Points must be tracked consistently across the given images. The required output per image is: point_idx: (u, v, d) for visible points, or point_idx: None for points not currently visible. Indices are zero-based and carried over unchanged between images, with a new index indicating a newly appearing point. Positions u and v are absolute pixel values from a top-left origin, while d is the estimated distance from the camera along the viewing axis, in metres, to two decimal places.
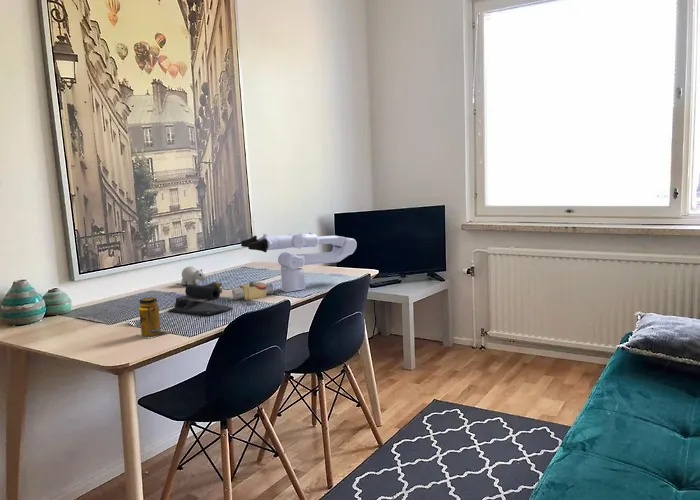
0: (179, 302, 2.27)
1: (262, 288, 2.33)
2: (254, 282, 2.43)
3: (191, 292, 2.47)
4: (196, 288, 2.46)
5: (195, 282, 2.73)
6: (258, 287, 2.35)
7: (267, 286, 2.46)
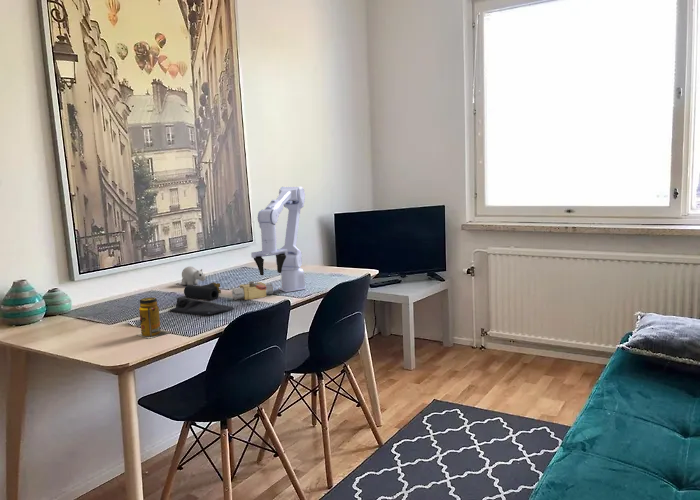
0: (180, 302, 2.27)
1: (262, 288, 2.33)
2: (254, 282, 2.43)
3: (190, 292, 2.46)
4: (195, 288, 2.45)
5: (195, 282, 2.73)
6: (258, 287, 2.35)
7: (267, 286, 2.46)
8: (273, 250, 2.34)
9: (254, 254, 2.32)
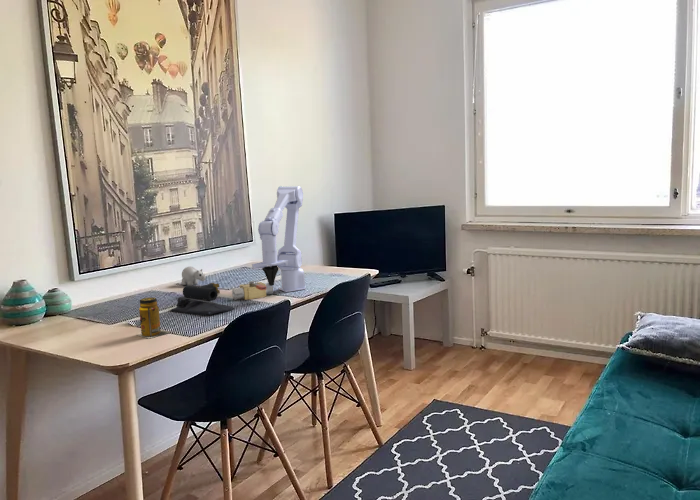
0: (181, 302, 2.28)
1: (262, 288, 2.33)
2: (254, 282, 2.43)
3: (188, 293, 2.45)
4: (193, 289, 2.44)
5: (195, 282, 2.73)
6: (258, 287, 2.35)
7: (267, 286, 2.46)
8: (274, 261, 2.35)
9: (255, 265, 2.33)
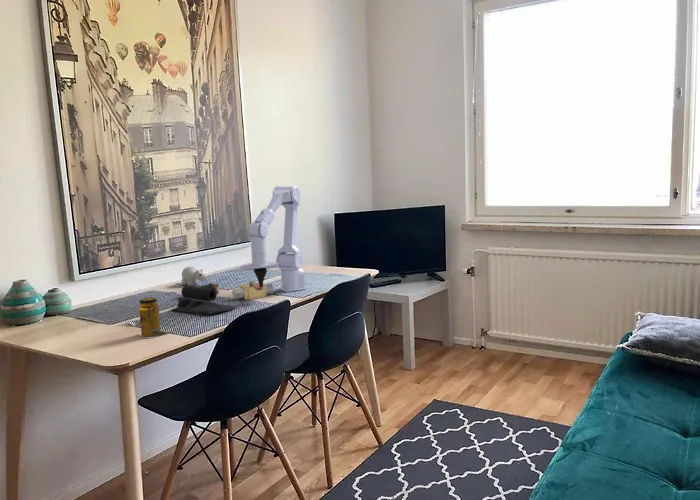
0: (182, 302, 2.28)
1: (258, 288, 2.33)
2: (254, 282, 2.43)
3: (187, 293, 2.45)
4: (192, 289, 2.44)
5: (195, 282, 2.73)
6: (255, 287, 2.35)
7: (267, 286, 2.46)
8: (262, 264, 2.33)
9: (243, 268, 2.32)
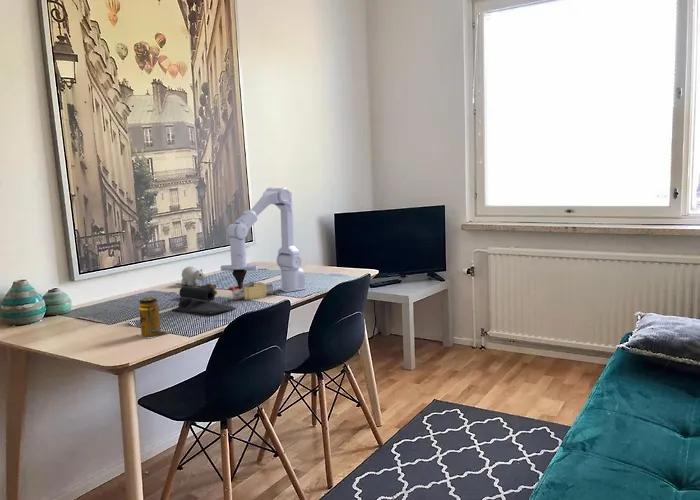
0: (183, 302, 2.28)
1: (230, 288, 2.34)
2: (251, 282, 2.42)
3: (185, 294, 2.44)
4: (190, 290, 2.43)
5: (195, 282, 2.73)
6: None
7: (267, 286, 2.46)
8: (237, 265, 2.32)
9: (221, 267, 2.35)
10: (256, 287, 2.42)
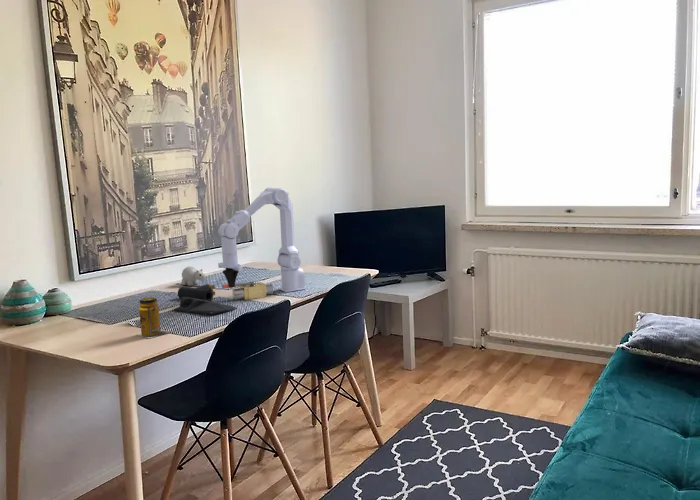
0: (184, 301, 2.28)
1: (222, 286, 2.40)
2: (249, 282, 2.43)
3: (184, 294, 2.43)
4: (189, 290, 2.42)
5: (195, 282, 2.73)
6: None
7: (267, 286, 2.46)
8: (225, 264, 2.35)
9: (218, 264, 2.42)
10: (256, 287, 2.42)
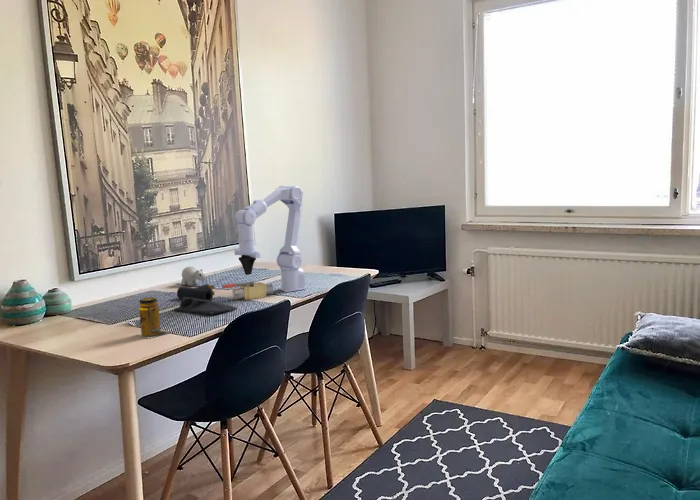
0: (184, 301, 2.28)
1: (222, 286, 2.40)
2: (249, 282, 2.43)
3: (183, 294, 2.43)
4: (188, 290, 2.42)
5: (195, 282, 2.73)
6: None
7: (267, 286, 2.46)
8: (241, 251, 2.34)
9: (235, 251, 2.41)
10: (256, 287, 2.42)
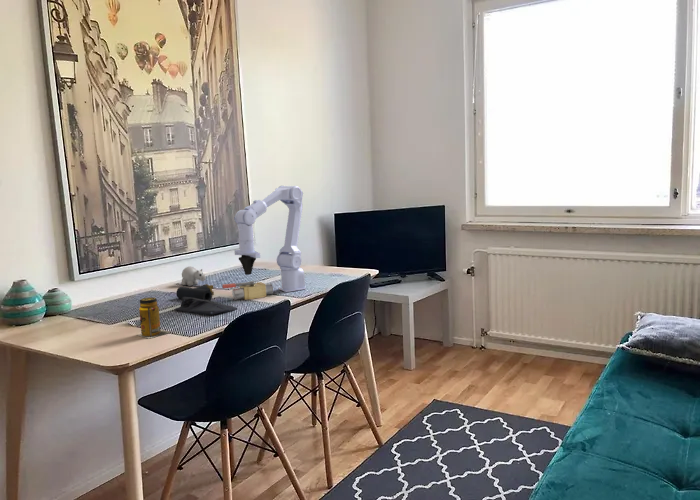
0: (185, 301, 2.28)
1: (222, 286, 2.40)
2: (249, 282, 2.43)
3: (182, 294, 2.43)
4: (188, 290, 2.42)
5: (195, 282, 2.73)
6: None
7: (267, 286, 2.46)
8: (241, 251, 2.34)
9: (235, 251, 2.41)
10: (256, 287, 2.42)
